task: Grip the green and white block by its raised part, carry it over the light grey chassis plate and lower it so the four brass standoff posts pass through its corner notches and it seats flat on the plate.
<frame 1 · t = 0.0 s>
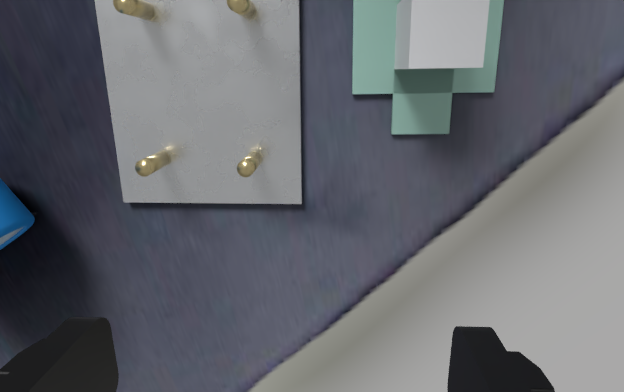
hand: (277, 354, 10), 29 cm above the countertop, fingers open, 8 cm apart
chassis plate: (205, 87, 37), on the countertop
green and white block: (424, 38, 35), on the countertop
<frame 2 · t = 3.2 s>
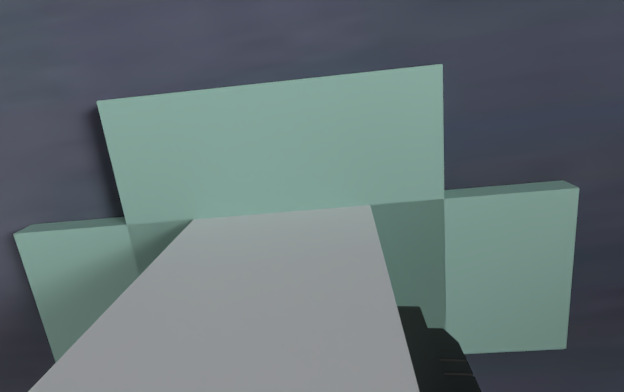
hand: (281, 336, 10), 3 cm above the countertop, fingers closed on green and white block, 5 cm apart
green and white block: (293, 278, 13), on the countertop, touching gripper
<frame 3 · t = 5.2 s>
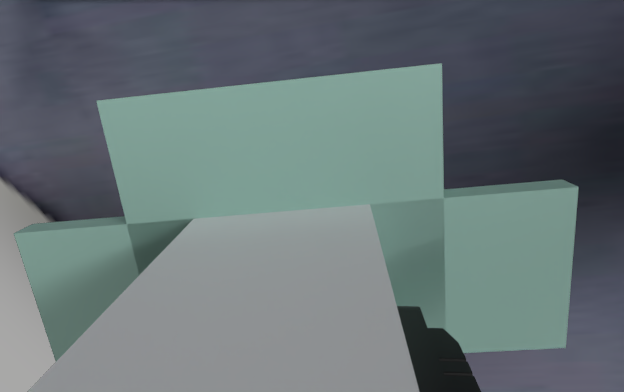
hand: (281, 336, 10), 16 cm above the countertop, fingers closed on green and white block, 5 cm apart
green and white block: (293, 278, 13), point 13 cm above the countertop, touching gripper
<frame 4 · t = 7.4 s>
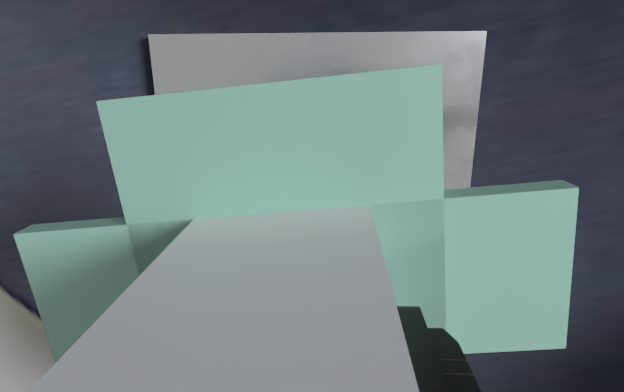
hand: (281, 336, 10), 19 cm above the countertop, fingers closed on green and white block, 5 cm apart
chassis plate: (315, 164, 29), on the countertop
green and white block: (293, 278, 13), point 16 cm above the countertop, touching gripper
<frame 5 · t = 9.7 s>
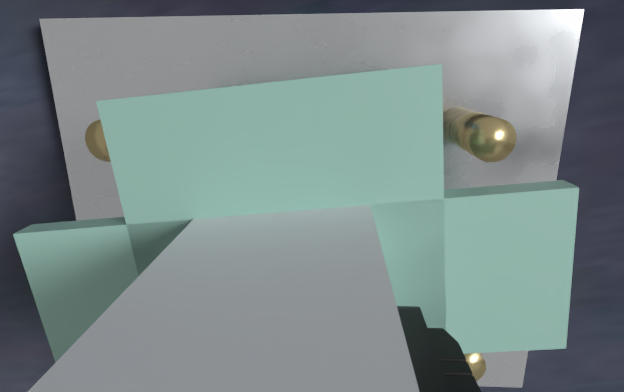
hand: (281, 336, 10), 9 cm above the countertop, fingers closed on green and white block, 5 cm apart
chassis plate: (306, 215, 19), on the countertop
green and white block: (293, 278, 13), point 6 cm above the countertop, touching gripper
when the fingers open (5 cm above the countertop, at t = 11.7 s): green and white block drops 1 cm, resting on chassis plate.
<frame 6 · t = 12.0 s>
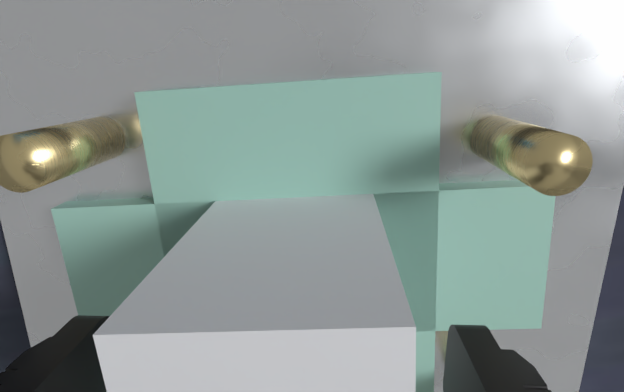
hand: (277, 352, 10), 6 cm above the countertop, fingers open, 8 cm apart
chassis plate: (298, 249, 15), on the countertop
green and white block: (300, 258, 14), point 1 cm above the countertop, touching chassis plate
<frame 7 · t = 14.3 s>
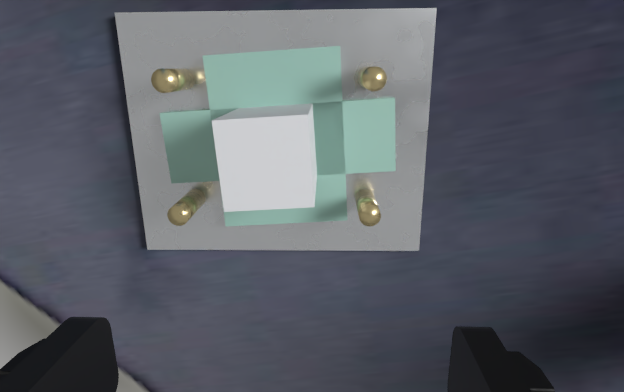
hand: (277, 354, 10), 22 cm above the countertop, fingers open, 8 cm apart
chassis plate: (279, 138, 30), on the countertop
green and white block: (280, 140, 29), point 1 cm above the countertop, touching chassis plate
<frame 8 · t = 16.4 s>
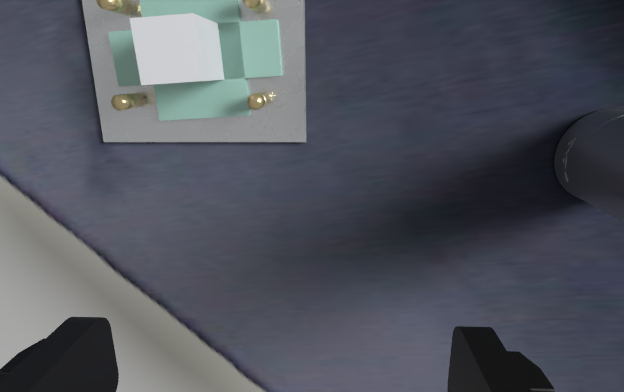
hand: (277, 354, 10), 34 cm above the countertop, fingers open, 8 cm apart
chassis plate: (198, 54, 41), on the countertop
green and white block: (197, 54, 40), point 1 cm above the countertop, touching chassis plate
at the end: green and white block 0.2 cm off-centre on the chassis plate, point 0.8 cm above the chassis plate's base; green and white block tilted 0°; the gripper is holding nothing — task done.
